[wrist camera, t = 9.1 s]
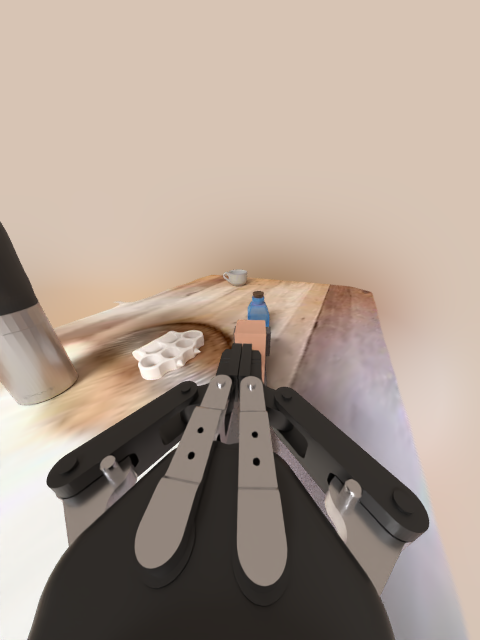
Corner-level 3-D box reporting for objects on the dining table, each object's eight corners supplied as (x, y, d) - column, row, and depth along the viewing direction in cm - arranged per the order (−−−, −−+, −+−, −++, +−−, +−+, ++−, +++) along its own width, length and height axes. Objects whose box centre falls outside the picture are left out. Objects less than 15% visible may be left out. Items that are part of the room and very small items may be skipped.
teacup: (248, 282, 111) (248, 269, 108) (245, 287, 102) (245, 273, 98) (226, 282, 114) (225, 269, 110) (222, 287, 104) (220, 272, 100)
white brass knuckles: (178, 333, 57) (216, 345, 50) (121, 367, 43) (162, 390, 36) (176, 324, 56) (215, 335, 49) (116, 355, 42) (159, 377, 35)
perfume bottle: (247, 324, 60) (247, 289, 55) (266, 324, 60) (268, 289, 55) (247, 334, 55) (247, 296, 49) (268, 334, 54) (270, 296, 49)
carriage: (264, 391, 32) (266, 338, 27) (236, 389, 32) (233, 337, 28) (263, 367, 38) (265, 320, 33) (239, 366, 38) (237, 319, 33)
